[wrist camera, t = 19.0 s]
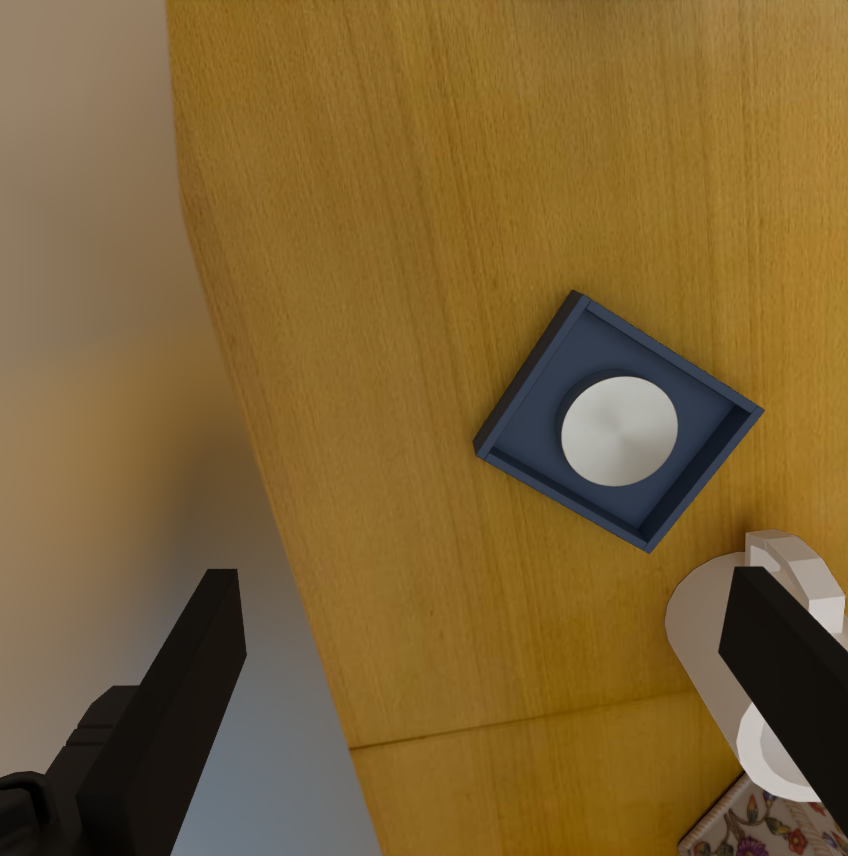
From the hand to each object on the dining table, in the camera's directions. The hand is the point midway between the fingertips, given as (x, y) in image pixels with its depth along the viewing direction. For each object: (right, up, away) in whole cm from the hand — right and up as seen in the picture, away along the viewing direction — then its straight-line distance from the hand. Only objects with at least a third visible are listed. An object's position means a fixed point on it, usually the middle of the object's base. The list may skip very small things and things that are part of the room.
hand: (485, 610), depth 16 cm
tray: (+10, +5, +23) cm, 25 cm away
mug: (+21, -7, +27) cm, 35 cm away
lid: (+10, +5, +21) cm, 24 cm away
